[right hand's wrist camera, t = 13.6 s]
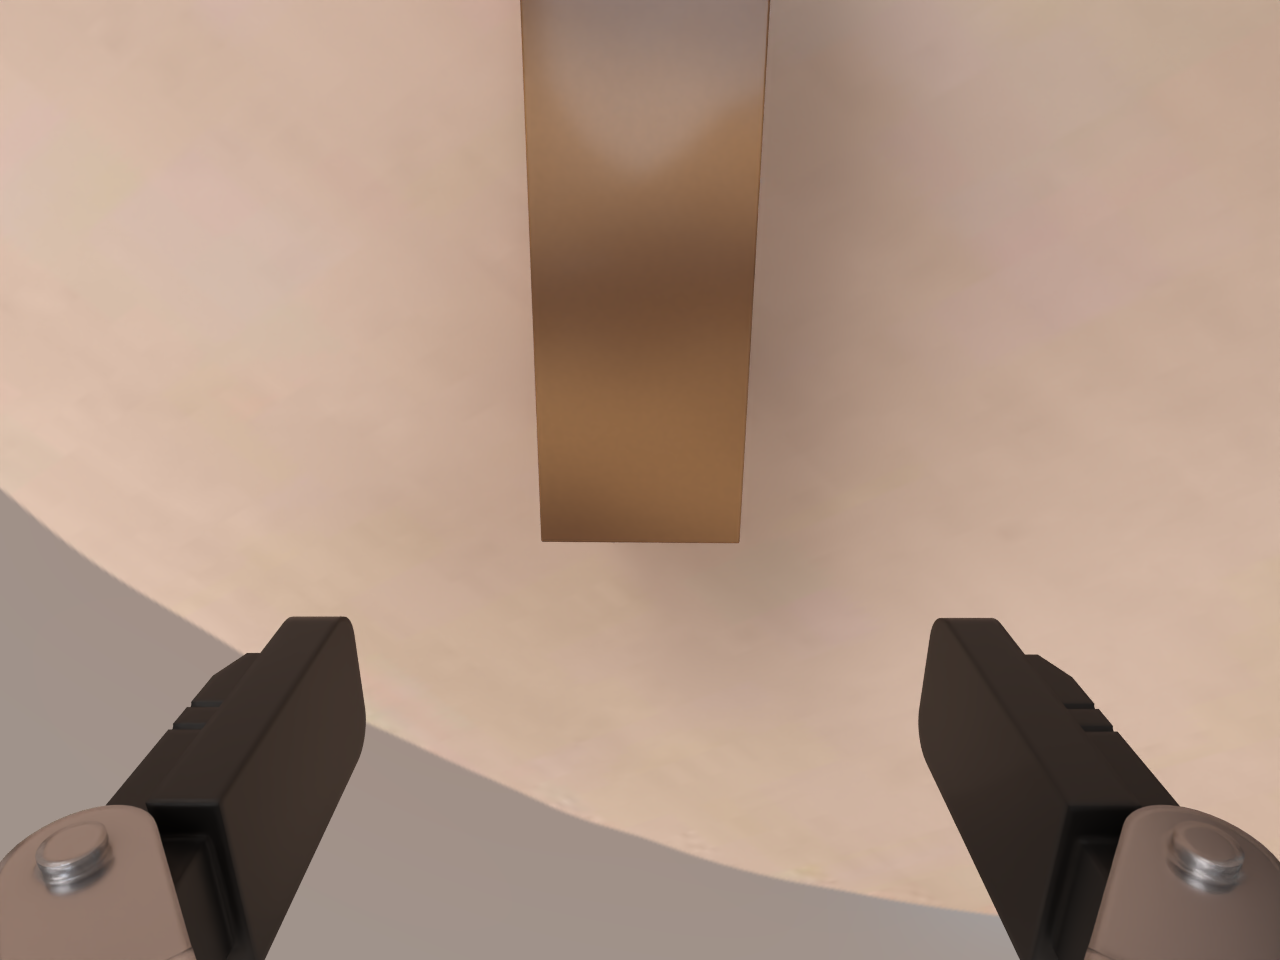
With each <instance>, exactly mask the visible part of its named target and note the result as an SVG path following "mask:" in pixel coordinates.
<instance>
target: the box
mask: <svg viewBox="0 0 1280 960" xmlns="http://www.w3.org/2000/svg"><path fill="white" fill-rule="evenodd" d="M520 6H521V32H522V57H523V83H524V109H525V134H526V160H527V185H528V211H529V236H530V262H531V288H532V313H533V339H534V364H535V390H536V416H537V441H538V467H539V492H540V518H541V540H542V542H659V543H739V539H740V522H741V504H742V486H743V469H744V451H745V434H746V416H747V398H748V381H749V363H750V345H751V328H752V310H753V293H754V275H755V257H756V240H757V222H758V204H759V187H760V169H761V152H762V134H763V116H764V99H765V81H766V63H767V46H768V28H769V11H770V0H520Z"/></svg>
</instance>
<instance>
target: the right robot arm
mask: <svg viewBox="0 0 1280 960" xmlns="http://www.w3.org/2000/svg"><path fill="white" fill-rule="evenodd" d="M918 725H919V737H920V743H921V748H922V752H923V755H924V758H925V761H926V763H927V765H928V767H929V769H930V771H931V773H932V775H933V778H934V780H935V782H936V784H937V786H938V788H939V790H940V792H941V794H942V797H943V799H944V801H945V803H946V805H947V807H948V809H949V811H950V813H951V815H952V818H953V820H954V822H955V824H956V826H957V828H958V830H959V832H960V834H961V837H962V839H963V841H964V843H965V845H966V847H967V849H968V851H969V853H970V855H971V858H972V860H973V862H974V864H975V866H976V868H977V870H978V872H979V874H980V877H981V879H982V881H983V883H984V885H985V887H986V889H987V891H988V893H989V895H990V898H991V900H992V902H993V904H994V906H995V908H996V910H997V912H998V914H999V917H1000V919H1001V921H1002V923H1003V925H1004V927H1005V929H1006V931H1007V933H1008V935H1009V938H1010V940H1011V942H1012V944H1013V946H1014V948H1015V950H1016V952H1017V954H1018V956H1019V958H1020V960H1280V862H1279V861H1278V859H1277V858H1276V857H1275V856H1274V855H1273V854H1272V853H1271V852H1270V851H1269V850H1268V849H1267V848H1266V847H1265V846H1264V845H1262V844H1261V843H1260V842H1258V841H1257V840H1256V839H1254V838H1253V837H1252V836H1250V835H1249V834H1247V833H1246V832H1244V831H1242V830H1241V829H1239V828H1238V827H1236V826H1234V825H1232V824H1230V823H1228V822H1226V821H1224V820H1222V819H1219V818H1217V817H1215V816H1212V815H1210V814H1207V813H1204V812H1201V811H1198V810H1194V809H1190V808H1185V807H1180V806H1179V805H1178V803H1177V802H1176V801H1175V800H1174V799H1173V797H1172V796H1171V795H1170V794H1169V793H1168V791H1167V790H1166V789H1165V788H1164V787H1163V785H1162V784H1161V783H1160V782H1159V781H1158V779H1157V778H1156V777H1155V776H1154V775H1153V773H1152V772H1151V771H1150V770H1149V769H1148V768H1147V766H1146V765H1145V764H1144V763H1143V762H1142V760H1141V759H1140V758H1139V757H1138V756H1137V754H1136V753H1135V752H1134V751H1133V750H1132V748H1131V747H1130V746H1129V745H1128V744H1127V742H1126V741H1125V740H1124V739H1123V738H1122V736H1121V735H1120V734H1119V733H1118V732H1114V731H1113V726H1112V724H1111V723H1110V722H1109V721H1108V720H1107V718H1106V717H1105V716H1104V715H1103V714H1102V712H1101V711H1100V710H1099V709H1095V708H1094V703H1093V702H1092V700H1091V699H1090V698H1089V697H1088V696H1087V694H1086V693H1085V692H1084V691H1083V690H1082V688H1081V687H1080V686H1079V685H1078V684H1077V682H1076V681H1075V680H1074V679H1073V678H1072V677H1071V676H1069V675H1068V674H1066V673H1065V672H1063V671H1062V670H1060V669H1059V668H1057V667H1056V666H1054V665H1053V664H1051V663H1050V662H1048V661H1047V660H1045V659H1044V658H1042V657H1041V656H1039V655H1025V654H1024V653H1023V652H1022V650H1021V649H1020V648H1019V646H1018V645H1017V644H1016V643H1015V641H1014V640H1013V639H1012V637H1011V636H1010V635H1009V634H1008V632H1007V631H1006V630H1005V628H1004V627H1003V626H1002V625H1001V623H1000V622H999V621H998V620H996V619H994V618H938V619H937V620H936V621H935V622H934V624H933V626H932V629H931V634H930V640H929V647H928V653H927V660H926V667H925V674H924V681H923V687H922V694H921V701H920V708H919V719H918ZM365 727H366V713H365V705H364V698H363V691H362V684H361V677H360V670H359V663H358V657H357V650H356V643H355V636H354V630H353V627H352V624H351V622H350V620H349V619H348V618H347V617H289V618H288V619H287V620H286V621H285V622H284V623H283V624H282V626H281V627H280V628H279V629H278V631H277V632H276V633H275V635H274V636H273V637H272V639H271V640H270V641H269V642H268V644H267V645H266V646H265V648H264V649H263V650H262V652H261V653H247V654H245V655H244V656H242V657H241V658H239V659H238V660H236V661H234V662H233V663H231V664H230V665H228V666H227V667H225V668H224V669H222V670H221V671H219V672H218V673H216V674H215V675H213V676H212V678H211V679H210V680H209V681H208V682H207V684H206V685H205V686H204V687H203V688H202V690H201V691H200V692H199V693H198V694H197V696H196V697H195V698H194V699H193V701H192V702H191V707H187V708H186V709H185V710H184V711H183V713H182V714H181V715H180V716H179V717H178V719H177V720H176V721H175V722H174V723H173V729H172V730H168V731H167V732H166V733H165V734H164V736H163V737H162V738H161V739H160V740H159V742H158V743H157V744H156V745H155V746H154V748H153V749H152V750H151V751H150V753H149V754H148V755H147V756H146V757H145V759H144V760H143V761H142V762H141V763H140V765H139V766H138V767H137V768H136V769H135V771H134V772H133V773H132V774H131V776H130V777H129V778H128V779H127V780H126V782H125V783H124V784H123V785H122V786H121V788H120V789H119V790H118V791H117V792H116V794H115V795H114V796H113V797H112V798H111V800H110V801H109V802H108V803H107V804H106V806H100V807H95V808H91V809H86V810H82V811H79V812H76V813H73V814H70V815H68V816H65V817H63V818H61V819H58V820H56V821H54V822H52V823H50V824H48V825H46V826H44V827H42V828H41V829H39V830H38V831H36V832H34V833H33V834H31V835H30V836H28V837H27V838H26V839H24V840H23V841H22V842H20V843H19V844H18V845H16V846H15V847H14V848H13V849H12V850H11V851H10V852H9V853H8V854H7V855H6V856H5V857H4V858H3V859H2V861H1V862H0V960H265V958H266V956H267V954H268V951H269V949H270V947H271V945H272V943H273V941H274V938H275V936H276V934H277V932H278V930H279V928H280V926H281V924H282V921H283V919H284V917H285V915H286V913H287V911H288V909H289V907H290V904H291V902H292V900H293V898H294V896H295V894H296V892H297V890H298V887H299V885H300V883H301V881H302V879H303V877H304V875H305V873H306V870H307V868H308V866H309V864H310V862H311V860H312V858H313V855H314V853H315V851H316V849H317V847H318V845H319V843H320V841H321V838H322V836H323V834H324V832H325V830H326V828H327V826H328V824H329V821H330V819H331V817H332V815H333V813H334V811H335V809H336V806H337V804H338V802H339V800H340V798H341V796H342V794H343V792H344V789H345V787H346V785H347V783H348V781H349V779H350V777H351V774H352V772H353V770H354V768H355V766H356V764H357V762H358V759H359V757H360V754H361V751H362V747H363V742H364V737H365Z"/></svg>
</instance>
